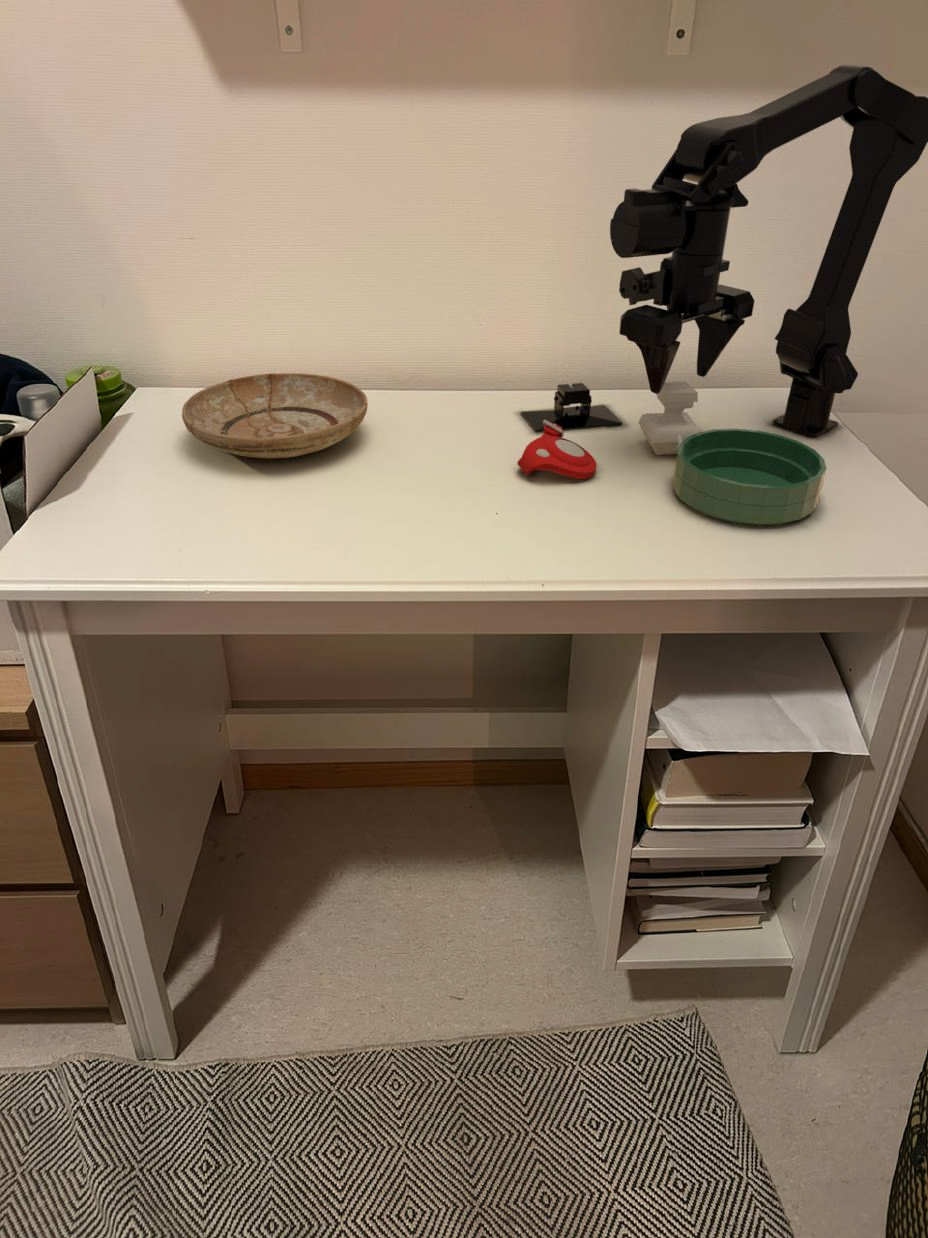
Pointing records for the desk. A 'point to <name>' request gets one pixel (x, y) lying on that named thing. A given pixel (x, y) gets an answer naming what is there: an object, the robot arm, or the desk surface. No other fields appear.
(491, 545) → the desk surface
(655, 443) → the stamp
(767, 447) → the green bowl
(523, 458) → the tracker holder
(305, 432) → the ceramic bowl
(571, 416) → the build plate
